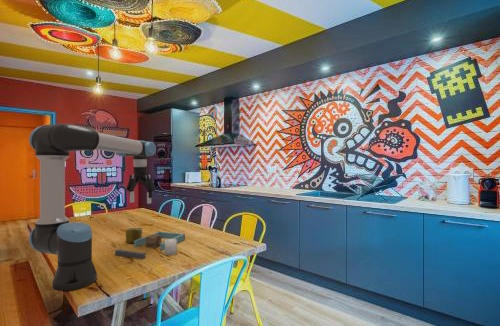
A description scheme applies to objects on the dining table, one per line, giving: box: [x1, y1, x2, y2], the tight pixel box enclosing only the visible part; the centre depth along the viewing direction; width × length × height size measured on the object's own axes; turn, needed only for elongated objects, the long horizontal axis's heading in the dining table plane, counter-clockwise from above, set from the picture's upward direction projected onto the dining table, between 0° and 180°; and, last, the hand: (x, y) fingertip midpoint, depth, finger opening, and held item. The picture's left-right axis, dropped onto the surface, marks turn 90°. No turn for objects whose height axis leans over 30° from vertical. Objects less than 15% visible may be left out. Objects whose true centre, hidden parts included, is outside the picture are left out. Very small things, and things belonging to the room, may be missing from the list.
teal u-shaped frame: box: [133, 231, 186, 251], centre depth 161 cm, size 22×19×4 cm
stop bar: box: [114, 249, 146, 260], centre depth 139 cm, size 2×18×2 cm, turn 70°
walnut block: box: [145, 233, 162, 249], centre depth 155 cm, size 6×6×6 cm
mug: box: [125, 227, 143, 244], centre depth 166 cm, size 12×10×10 cm
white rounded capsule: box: [164, 238, 178, 256], centre depth 143 cm, size 6×6×7 cm
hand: (140, 202), depth 160 cm, fingers open, 12 cm apart
